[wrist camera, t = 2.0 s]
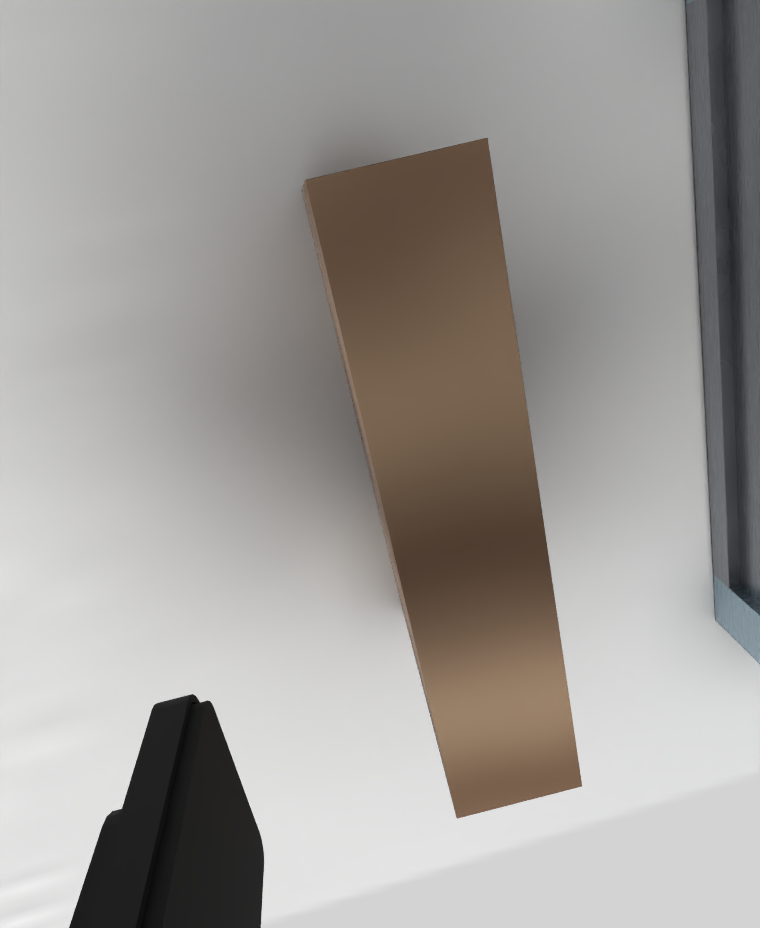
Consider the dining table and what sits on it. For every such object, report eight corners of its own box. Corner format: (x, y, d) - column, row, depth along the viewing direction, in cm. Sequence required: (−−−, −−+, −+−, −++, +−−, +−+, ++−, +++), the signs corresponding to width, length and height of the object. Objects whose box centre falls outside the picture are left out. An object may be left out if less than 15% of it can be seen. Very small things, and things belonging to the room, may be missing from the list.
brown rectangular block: (302, 189, 20) (305, 180, 11) (406, 165, 20) (487, 137, 11) (402, 609, 25) (457, 818, 16) (485, 588, 25) (582, 786, 16)
